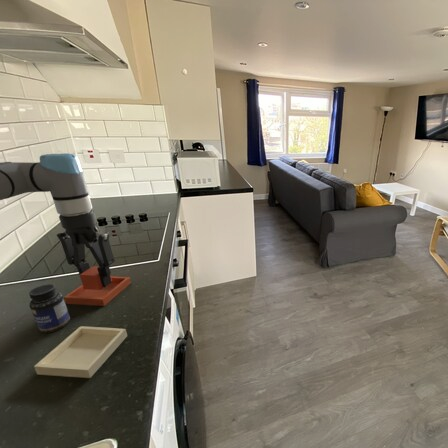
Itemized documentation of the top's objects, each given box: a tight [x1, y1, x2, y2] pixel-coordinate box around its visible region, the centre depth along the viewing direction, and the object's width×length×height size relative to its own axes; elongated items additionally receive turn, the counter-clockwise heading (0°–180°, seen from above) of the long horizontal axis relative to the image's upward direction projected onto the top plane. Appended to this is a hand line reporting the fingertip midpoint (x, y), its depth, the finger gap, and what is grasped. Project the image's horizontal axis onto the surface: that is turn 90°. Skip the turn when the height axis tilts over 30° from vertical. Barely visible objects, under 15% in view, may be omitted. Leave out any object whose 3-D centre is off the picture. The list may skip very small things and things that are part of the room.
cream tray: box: [33, 325, 128, 379], centre depth 59 cm, size 12×12×2 cm
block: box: [79, 265, 112, 290], centre depth 79 cm, size 5×5×5 cm
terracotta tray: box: [63, 275, 132, 307], centre depth 81 cm, size 12×12×2 cm
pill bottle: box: [28, 283, 71, 334], centre depth 66 cm, size 6×6×11 cm
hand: (98, 284), depth 80 cm, fingers closed on block, 5 cm apart
